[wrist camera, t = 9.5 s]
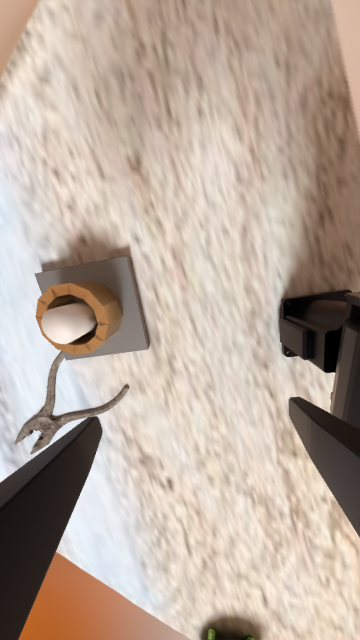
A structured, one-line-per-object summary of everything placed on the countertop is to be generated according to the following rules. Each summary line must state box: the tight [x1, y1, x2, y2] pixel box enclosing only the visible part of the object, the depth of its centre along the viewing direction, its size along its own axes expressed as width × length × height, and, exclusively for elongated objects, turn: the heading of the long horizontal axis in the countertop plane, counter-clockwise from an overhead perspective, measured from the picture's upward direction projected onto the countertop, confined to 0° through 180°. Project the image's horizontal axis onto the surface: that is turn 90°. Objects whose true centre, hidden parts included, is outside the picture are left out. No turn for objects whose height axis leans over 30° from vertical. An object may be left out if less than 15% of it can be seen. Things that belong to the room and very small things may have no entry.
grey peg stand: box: [35, 256, 150, 360], centre depth 17 cm, size 10×10×6 cm
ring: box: [36, 281, 123, 355], centre depth 17 cm, size 6×6×4 cm
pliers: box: [15, 351, 129, 454], centre depth 24 cm, size 10×1×20 cm
